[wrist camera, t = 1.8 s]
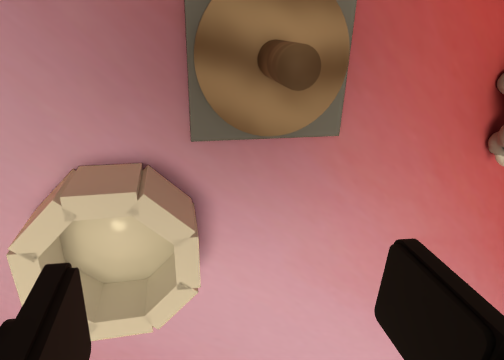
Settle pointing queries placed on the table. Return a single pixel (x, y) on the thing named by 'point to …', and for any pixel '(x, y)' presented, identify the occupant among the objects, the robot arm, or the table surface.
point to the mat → (215, 128)
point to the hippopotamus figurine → (498, 133)
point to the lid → (271, 61)
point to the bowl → (115, 246)
